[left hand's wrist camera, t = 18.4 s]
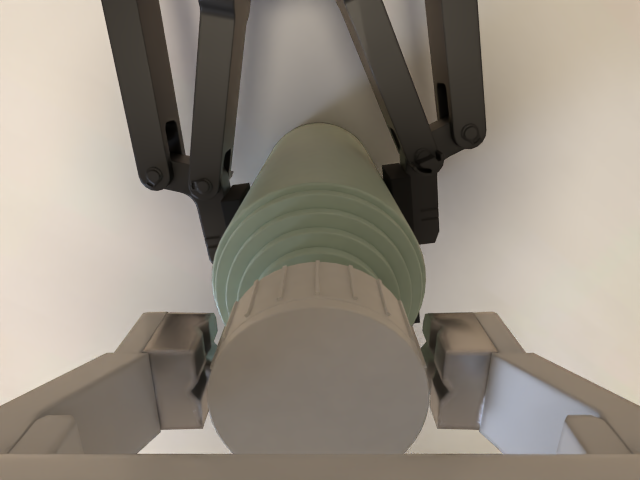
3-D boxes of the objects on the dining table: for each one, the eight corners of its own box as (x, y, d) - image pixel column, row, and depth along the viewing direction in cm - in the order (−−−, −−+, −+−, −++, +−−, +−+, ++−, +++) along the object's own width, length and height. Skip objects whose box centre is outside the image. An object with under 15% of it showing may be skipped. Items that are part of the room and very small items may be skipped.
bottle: (344, 103, 24) (403, 181, 7) (388, 200, 26) (516, 442, 9) (247, 152, 25) (96, 324, 8) (296, 243, 27) (257, 533, 10)
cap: (193, 293, 9) (164, 344, 8) (381, 231, 9) (396, 271, 7) (266, 437, 11) (255, 509, 9) (432, 390, 10) (456, 457, 9)
